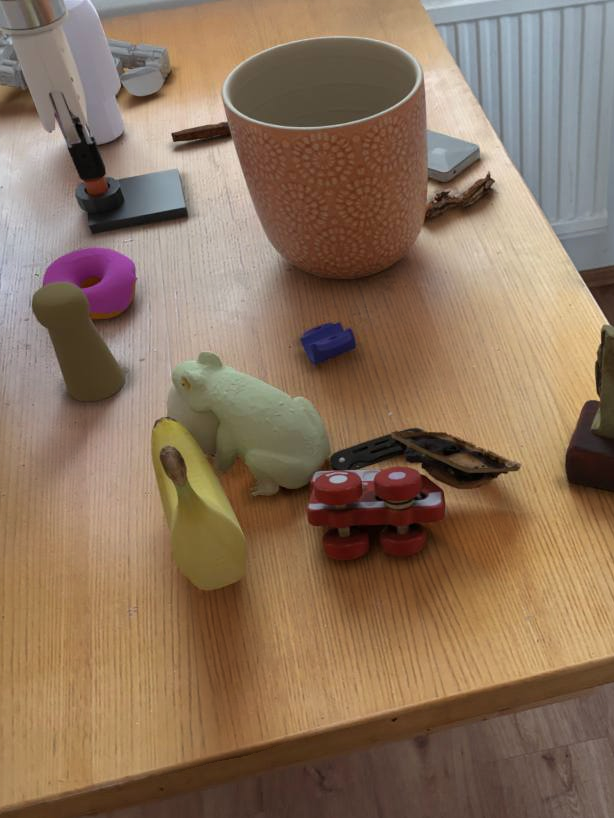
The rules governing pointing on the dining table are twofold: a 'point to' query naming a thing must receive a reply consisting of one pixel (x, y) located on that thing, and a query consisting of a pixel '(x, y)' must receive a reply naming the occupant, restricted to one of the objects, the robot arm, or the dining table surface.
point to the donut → (97, 278)
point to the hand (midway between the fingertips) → (93, 174)
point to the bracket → (327, 342)
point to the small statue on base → (596, 425)
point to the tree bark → (458, 197)
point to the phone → (449, 156)
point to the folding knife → (367, 453)
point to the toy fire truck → (374, 509)
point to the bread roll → (453, 458)
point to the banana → (196, 509)
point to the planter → (333, 150)
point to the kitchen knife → (201, 132)
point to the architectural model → (144, 58)
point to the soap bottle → (94, 69)
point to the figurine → (248, 423)
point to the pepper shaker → (77, 342)
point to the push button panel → (134, 201)
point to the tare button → (96, 185)
